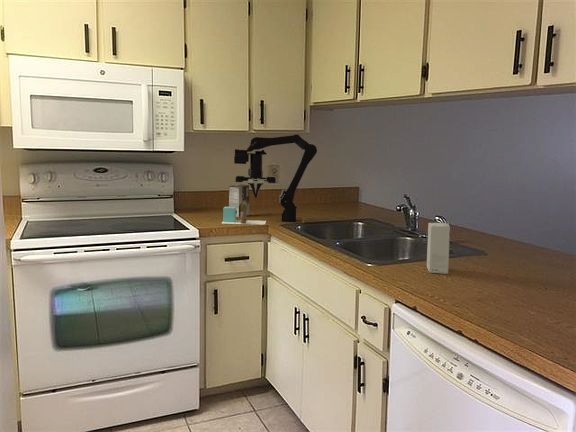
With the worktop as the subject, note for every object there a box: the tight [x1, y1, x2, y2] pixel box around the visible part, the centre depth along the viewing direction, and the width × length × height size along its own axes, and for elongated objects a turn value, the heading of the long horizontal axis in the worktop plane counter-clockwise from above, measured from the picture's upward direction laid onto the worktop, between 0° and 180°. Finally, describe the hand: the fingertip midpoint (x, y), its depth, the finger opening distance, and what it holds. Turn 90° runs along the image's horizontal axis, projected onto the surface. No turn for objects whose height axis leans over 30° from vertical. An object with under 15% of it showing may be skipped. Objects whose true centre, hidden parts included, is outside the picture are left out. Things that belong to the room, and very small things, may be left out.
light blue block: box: [222, 206, 237, 222], centre depth 235 cm, size 5×5×7 cm
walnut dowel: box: [240, 212, 247, 225], centre depth 231 cm, size 3×3×6 cm
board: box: [221, 219, 267, 226], centre depth 235 cm, size 20×10×1 cm, turn 88°
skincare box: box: [426, 222, 451, 275], centre depth 157 cm, size 8×6×15 cm
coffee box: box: [228, 183, 250, 218], centre depth 253 cm, size 9×6×16 cm
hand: (255, 197), depth 237 cm, fingers closed
